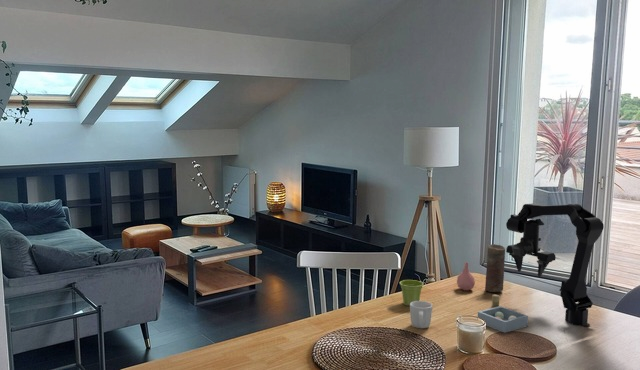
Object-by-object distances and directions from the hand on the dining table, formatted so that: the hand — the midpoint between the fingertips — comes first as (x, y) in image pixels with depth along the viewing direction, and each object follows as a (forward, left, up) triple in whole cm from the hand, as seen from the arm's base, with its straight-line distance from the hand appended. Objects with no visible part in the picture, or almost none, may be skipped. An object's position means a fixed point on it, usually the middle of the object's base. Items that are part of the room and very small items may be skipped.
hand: (529, 274), depth 209 cm
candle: (+20, -4, -13) cm, 24 cm away
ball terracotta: (-9, +29, -12) cm, 33 cm away
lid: (+5, +13, -14) cm, 20 cm away
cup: (+5, +52, -13) cm, 54 cm away
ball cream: (-12, +24, -12) cm, 29 cm away
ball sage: (-6, +24, -12) cm, 28 cm away
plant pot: (+26, +38, -13) cm, 48 cm away
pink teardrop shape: (+28, +5, -13) cm, 31 cm away
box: (-9, +26, -13) cm, 30 cm away
